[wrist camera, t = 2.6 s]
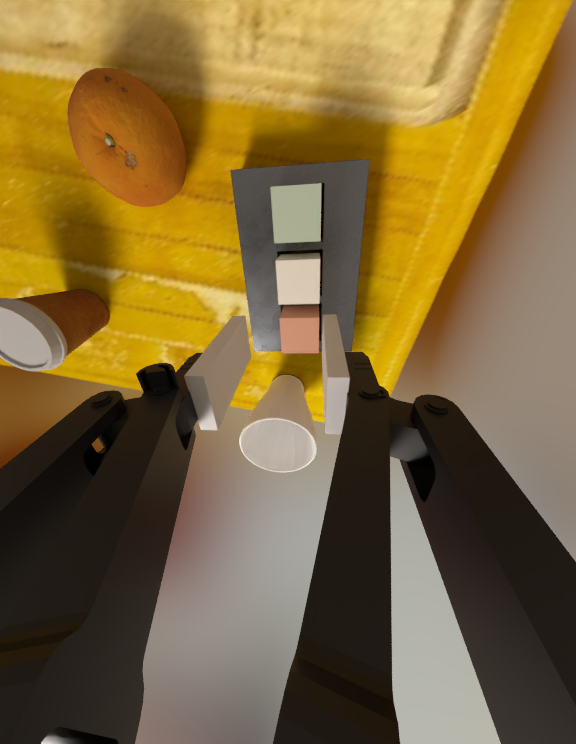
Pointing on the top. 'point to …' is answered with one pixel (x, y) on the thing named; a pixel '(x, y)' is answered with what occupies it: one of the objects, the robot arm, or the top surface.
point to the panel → (337, 243)
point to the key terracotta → (299, 329)
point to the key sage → (296, 213)
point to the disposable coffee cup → (48, 327)
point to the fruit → (126, 137)
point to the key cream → (298, 278)
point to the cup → (280, 428)
